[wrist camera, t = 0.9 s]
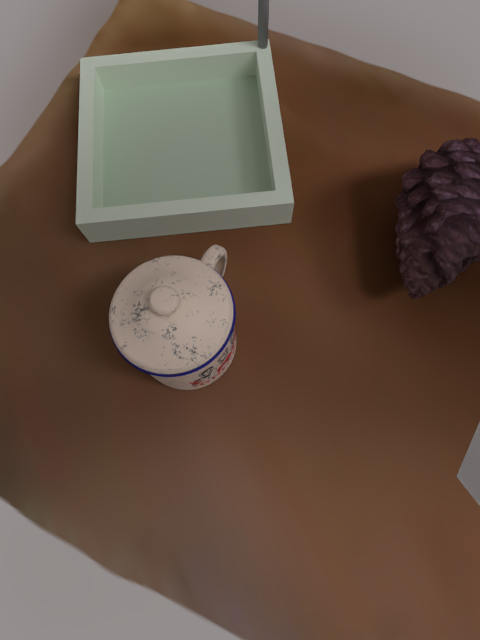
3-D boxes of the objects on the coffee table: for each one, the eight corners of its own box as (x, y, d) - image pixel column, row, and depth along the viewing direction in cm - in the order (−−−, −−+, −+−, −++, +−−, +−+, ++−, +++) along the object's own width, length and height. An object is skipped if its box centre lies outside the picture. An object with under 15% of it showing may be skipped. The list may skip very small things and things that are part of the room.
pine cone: (438, 338, 37) (501, 299, 28) (339, 284, 39) (367, 231, 30) (512, 191, 42) (588, 115, 32) (419, 150, 43) (466, 65, 34)
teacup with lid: (210, 411, 36) (191, 393, 25) (120, 366, 37) (65, 330, 26) (269, 294, 39) (275, 231, 28) (184, 256, 41) (158, 182, 29)
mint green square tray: (267, 68, 47) (273, -90, 34) (290, 222, 41) (309, 107, 27) (92, 85, 47) (26, -66, 34) (89, 242, 41) (7, 137, 27)
